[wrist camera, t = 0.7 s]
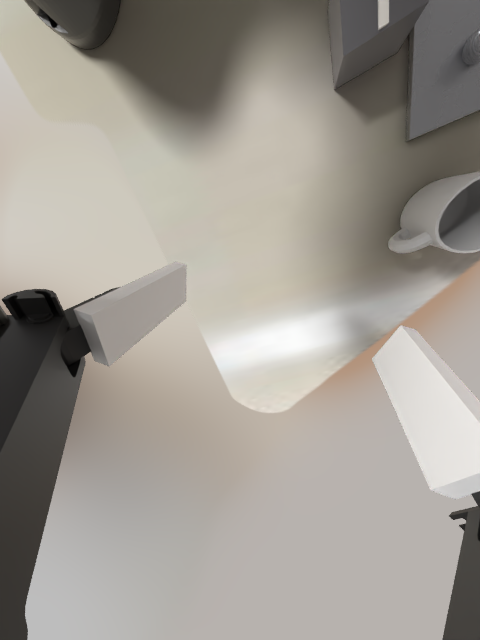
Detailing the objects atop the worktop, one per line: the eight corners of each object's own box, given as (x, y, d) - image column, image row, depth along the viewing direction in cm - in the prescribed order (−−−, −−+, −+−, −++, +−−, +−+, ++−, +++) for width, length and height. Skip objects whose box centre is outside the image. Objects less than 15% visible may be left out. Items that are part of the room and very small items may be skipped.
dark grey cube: (327, 11, 19) (336, -57, 14) (398, -43, 17) (439, -148, 12) (334, 89, 22) (343, 54, 17) (397, 52, 19) (430, -2, 14)
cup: (478, 213, 24) (556, 217, 16) (390, 262, 29) (419, 281, 22) (457, 162, 22) (533, 140, 15) (367, 224, 27) (391, 230, 20)
